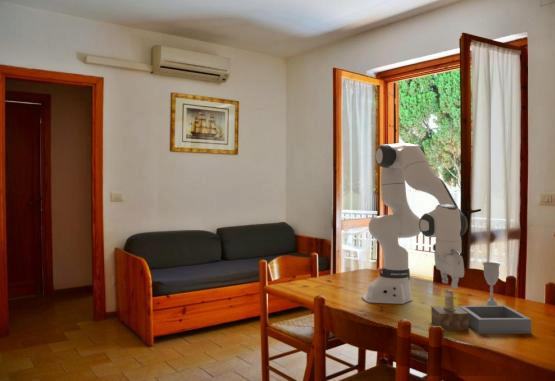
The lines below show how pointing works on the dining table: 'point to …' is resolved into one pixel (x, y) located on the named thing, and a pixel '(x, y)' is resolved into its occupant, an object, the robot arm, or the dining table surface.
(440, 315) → the dowel block
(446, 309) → the dowel
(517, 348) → the dining table surface
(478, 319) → the tray
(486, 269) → the chalice
